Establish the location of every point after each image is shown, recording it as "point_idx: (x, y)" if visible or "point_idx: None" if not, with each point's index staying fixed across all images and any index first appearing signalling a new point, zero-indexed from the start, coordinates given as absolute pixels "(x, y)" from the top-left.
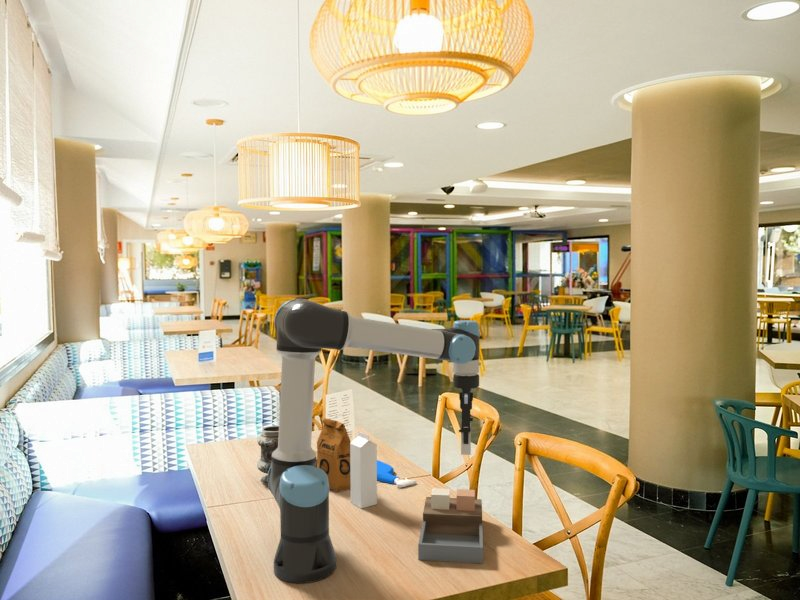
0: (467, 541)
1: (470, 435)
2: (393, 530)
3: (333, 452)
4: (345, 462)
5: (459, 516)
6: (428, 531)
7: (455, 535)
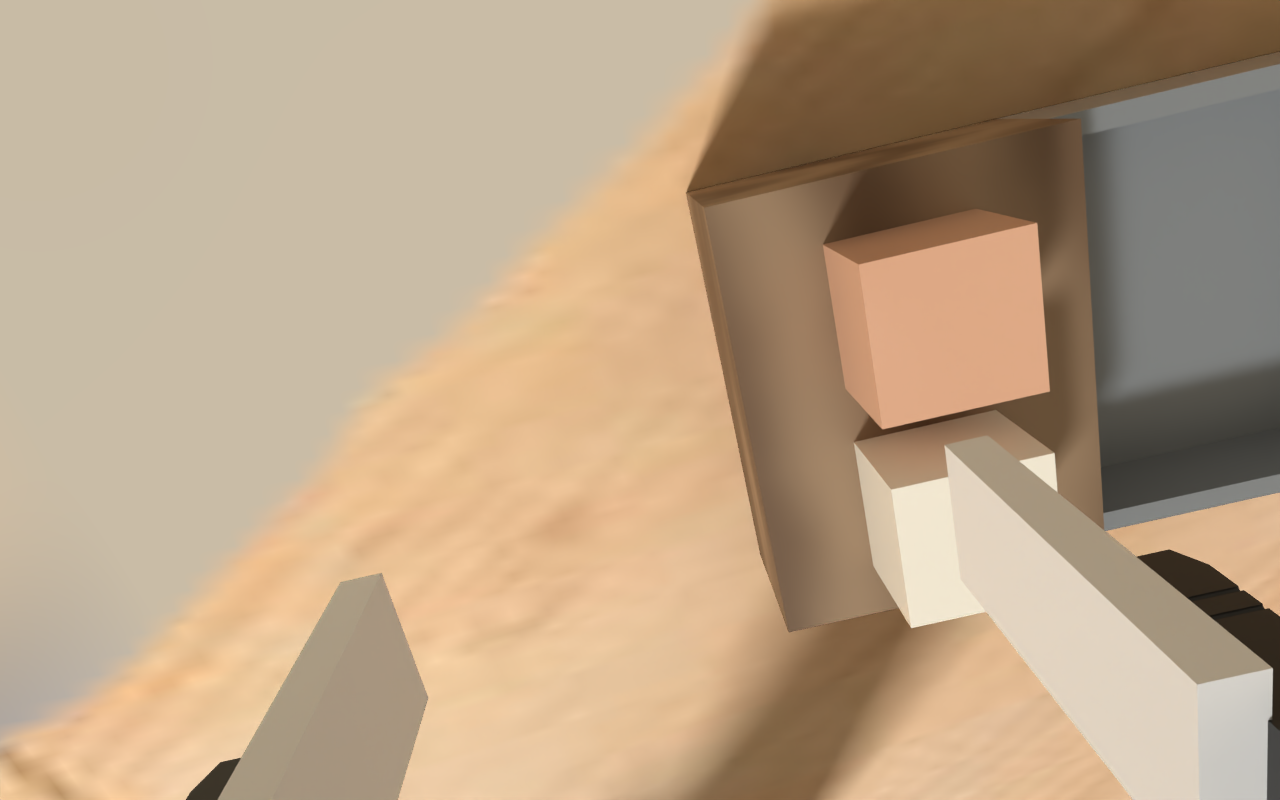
0: (1100, 201)
1: (1205, 620)
2: (998, 661)
3: None
4: None
5: (1085, 304)
6: None
7: None
